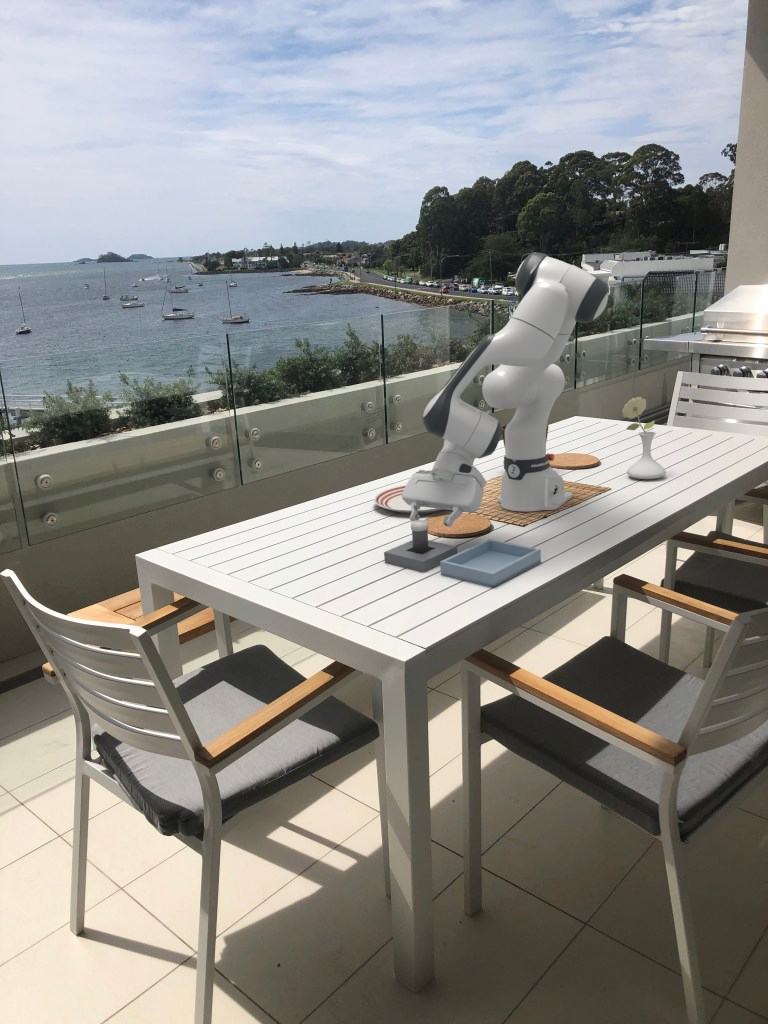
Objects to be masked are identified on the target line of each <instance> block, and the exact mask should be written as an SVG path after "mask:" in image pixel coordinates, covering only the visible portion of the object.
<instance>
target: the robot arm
mask: <svg viewBox="0 0 768 1024" xmlns="http://www.w3.org/2000/svg"><path fill="white" fill-rule="evenodd" d="M514 281H515V282H514V285H515V288H516V291H517V292H518V294H519V295H520V298H521V301H520V302H519V304H517V307H516V308H515V309H514V312H513V313H512V316H511V317H510V319H509V321H507V323H506V325H504V327H503V328H501V330H499V331H497V332H496V333H488V334H486V335H485V336H484V337H483V338H482V339H481V340H479V342H478V343H477V344H476V345H475V346H474V348H472V350H471V351H470V352H469V353H468V355H467V356H466V357H465V358H464V360H463V362H462V363H461V364H460V365H459V366H458V367H457V369H456V370H455V372H454V373H452V376H451V377H450V378H449V379H448V381H446V383H445V385H444V386H443V387H442V388H441V389H440V391H439V392H438V393H437V394H436V395H435V396H434V397H433V398H431V400H430V401H429V402H428V404H427V405H426V406H425V408H424V411H423V413H422V418H421V419H422V422H423V424H424V428H425V429H426V431H427V433H428V434H430V435H433V436H435V437H437V438H440V439H444V441H443V446H442V449H441V450H440V451H439V452H438V455H437V456H436V459H435V461H434V464H433V466H432V469H431V470H424V469H420V470H418V471H415V472H414V473H413V474H412V475H411V477H410V479H408V482H407V483H406V484H405V485H406V486H405V488H404V490H403V492H402V499H403V500H404V501H405V502H406V503H407V504H408V505H411V511H412V513H411V514H410V515H409V520H410V521H411V522H412V521H415V520H420V518H421V516H420V514H418V513H417V509H418V510H419V509H420V507H429V508H437V509H444V510H447V511H452V512H451V513H450V514H449V515H448V516H444V520H443V522H442V523H443V525H444V526H445V527H452V526H453V524H454V521H456V520H457V519H458V518H459V517H461V515H462V512H463V513H470V514H471V513H472V514H473V513H476V512H477V511H478V510H479V509H480V506H481V504H482V501H483V497H484V492H485V491H484V488H485V487H486V485H487V480H486V479H485V477H484V476H483V474H482V473H481V471H480V470H479V469H478V468H477V467H476V466H474V462H475V460H476V459H478V460H480V459H483V458H485V457H489V456H491V455H492V454H493V453H494V452H495V450H496V449H497V448H498V444H499V442H500V440H501V436H502V429H501V427H502V426H501V423H500V420H499V419H497V418H495V417H494V416H492V415H490V414H488V413H486V412H485V411H483V410H481V409H478V408H476V407H475V406H473V405H471V404H469V403H467V402H465V401H464V400H463V399H461V397H460V396H461V395H462V393H464V390H466V389H467V387H468V386H469V384H471V382H472V381H473V379H474V378H475V377H476V375H477V374H478V373H479V372H480V370H482V369H483V368H485V367H486V366H492V365H499V366H498V367H496V368H495V369H494V370H492V371H491V372H489V373H488V374H487V375H486V376H485V377H484V379H483V381H482V387H481V389H482V396H483V399H484V400H485V402H486V403H487V405H488V406H489V407H491V408H494V409H501V410H511V409H516V411H515V413H514V415H513V417H512V419H511V420H510V421H509V422H508V425H507V424H506V425H507V426H506V428H505V446H504V450H505V451H504V452H505V453H504V454H505V455H504V457H503V469H504V472H503V473H502V475H501V483H500V484H501V485H500V496H499V497H498V498H497V502H498V503H500V507H501V508H503V509H505V510H507V511H508V510H509V511H514V512H536V511H537V512H538V511H554V510H555V511H556V510H558V509H559V508H560V507H561V506H562V505H564V504H565V503H566V502H568V501H569V500H571V499H572V498H573V493H572V492H570V491H566V490H565V486H564V484H565V483H564V478H563V476H561V475H560V474H559V473H558V472H556V470H554V469H553V468H551V464H550V461H551V462H553V461H555V458H556V457H555V454H554V453H546V452H547V441H546V427H547V425H548V421H549V418H550V414H551V411H552V409H553V406H554V403H555V402H556V400H557V399H558V397H560V395H561V394H562V393H563V391H564V389H565V385H566V379H565V374H564V372H563V370H562V369H561V367H560V366H558V365H557V364H555V363H556V362H557V361H558V360H559V359H560V357H561V356H562V354H563V352H564V350H565V348H566V346H567V344H568V342H569V339H570V337H571V335H572V332H573V330H574V328H575V326H576V323H577V322H578V323H582V324H588V323H592V322H594V321H595V320H596V319H597V318H598V317H600V316H601V315H602V313H603V312H604V311H605V308H606V306H607V303H608V301H609V293H610V290H609V286H608V284H607V283H606V282H605V281H604V280H602V279H601V278H599V277H595V276H594V275H592V274H591V273H589V272H587V271H586V270H584V269H582V268H580V267H579V266H576V265H575V264H570V263H567V262H565V261H563V260H559V259H558V258H555V257H554V258H553V257H552V256H551V257H550V256H548V254H546V253H541V252H536V251H535V252H532V253H530V254H528V256H527V257H525V259H524V260H523V261H522V262H521V264H520V265H519V267H518V268H517V272H516V275H515V279H514Z"/></svg>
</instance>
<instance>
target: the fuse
mask: <svg viewBox="0 0 768 1024" xmlns="http://www.w3.org/2000/svg"><path fill="white" fill-rule="evenodd" d="M410 530H411V536H412V537H411V541H413V552H414V553H418V554H424V553H426V552H428V551H429V549H428V540H429V533H428V531H429V521H428V520H425V519H418V520H415V521H411V522H410Z"/></svg>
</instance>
